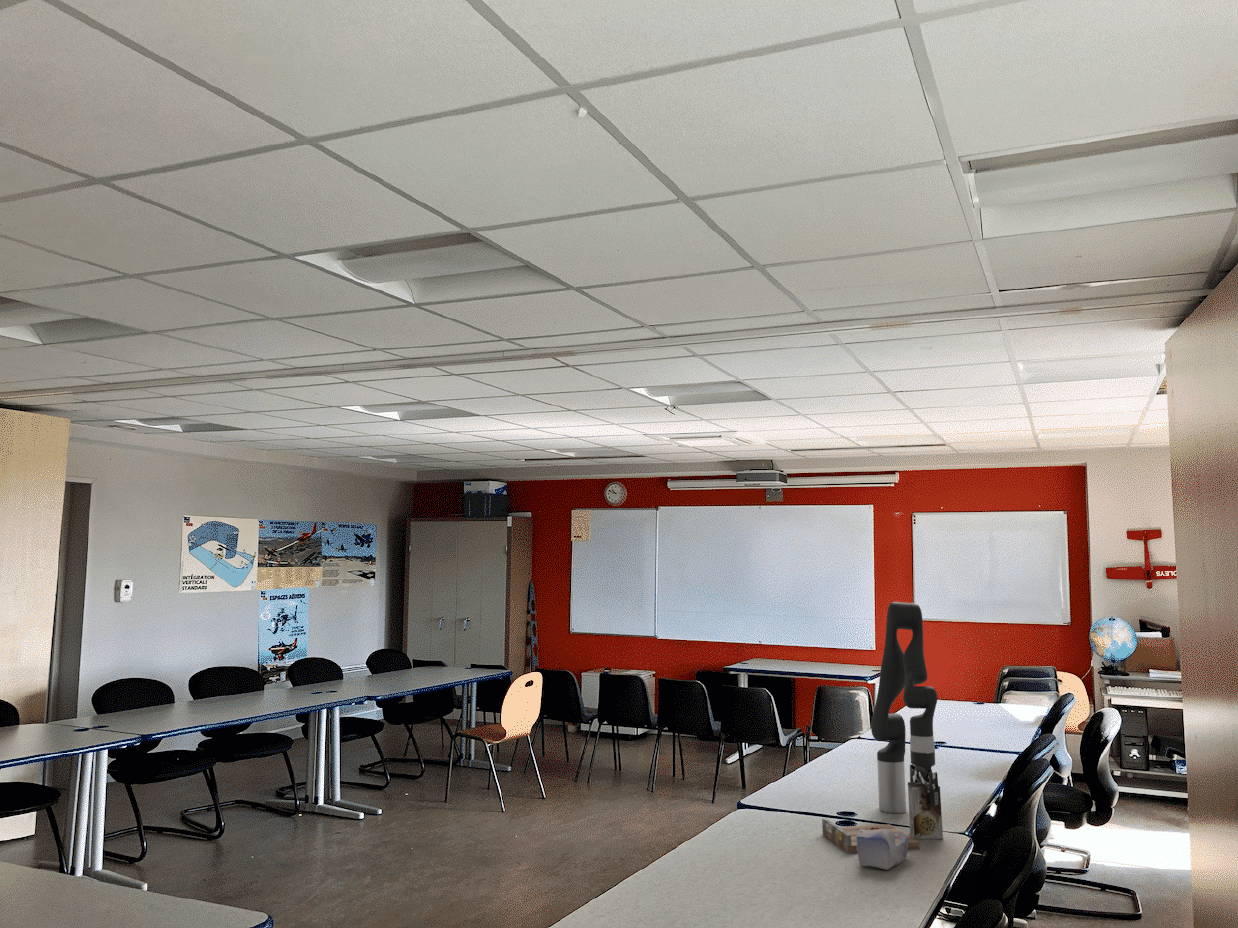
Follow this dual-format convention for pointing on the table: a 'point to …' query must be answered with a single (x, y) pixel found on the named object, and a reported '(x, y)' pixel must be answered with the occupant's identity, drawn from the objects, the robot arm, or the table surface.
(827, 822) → the shelf board
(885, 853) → the cell model
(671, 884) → the table surface
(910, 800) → the coffee box
